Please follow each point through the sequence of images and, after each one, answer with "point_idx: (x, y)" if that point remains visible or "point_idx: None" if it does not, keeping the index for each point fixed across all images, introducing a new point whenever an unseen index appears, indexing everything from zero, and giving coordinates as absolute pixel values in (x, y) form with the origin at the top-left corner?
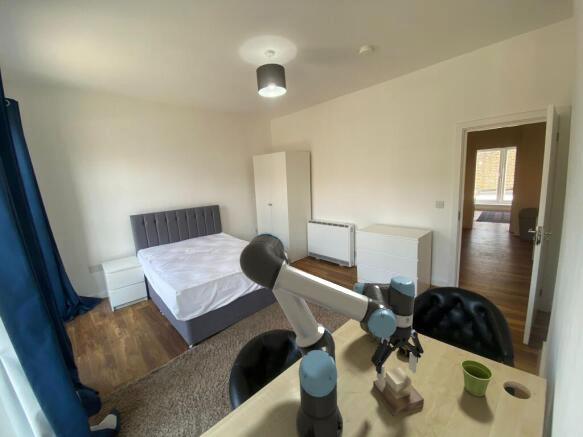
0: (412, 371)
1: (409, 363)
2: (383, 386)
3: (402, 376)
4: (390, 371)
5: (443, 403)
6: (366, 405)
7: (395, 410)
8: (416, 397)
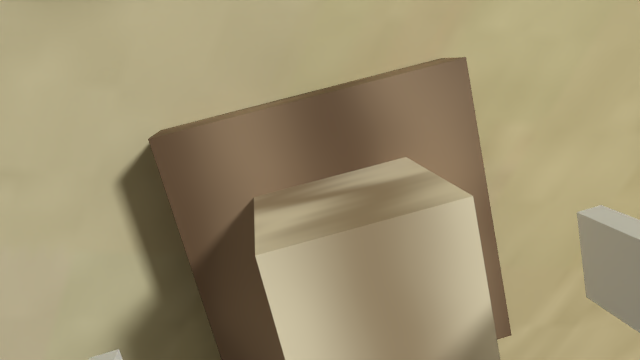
0: (589, 277)
1: (637, 248)
2: (232, 206)
3: (431, 339)
4: (320, 260)
5: None
6: (48, 301)
7: None
8: None
